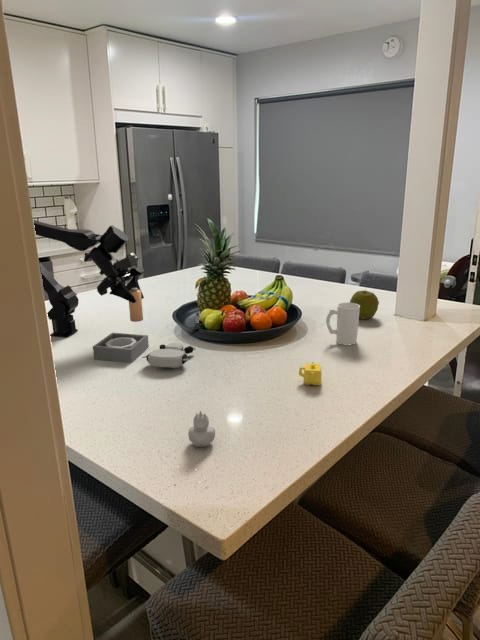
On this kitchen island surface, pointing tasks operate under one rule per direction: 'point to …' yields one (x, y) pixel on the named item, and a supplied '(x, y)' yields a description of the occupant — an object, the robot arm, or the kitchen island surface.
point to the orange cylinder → (136, 306)
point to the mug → (345, 322)
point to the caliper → (197, 317)
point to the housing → (120, 347)
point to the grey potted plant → (201, 431)
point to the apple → (365, 303)
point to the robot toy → (169, 355)
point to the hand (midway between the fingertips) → (139, 300)
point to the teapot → (311, 373)
